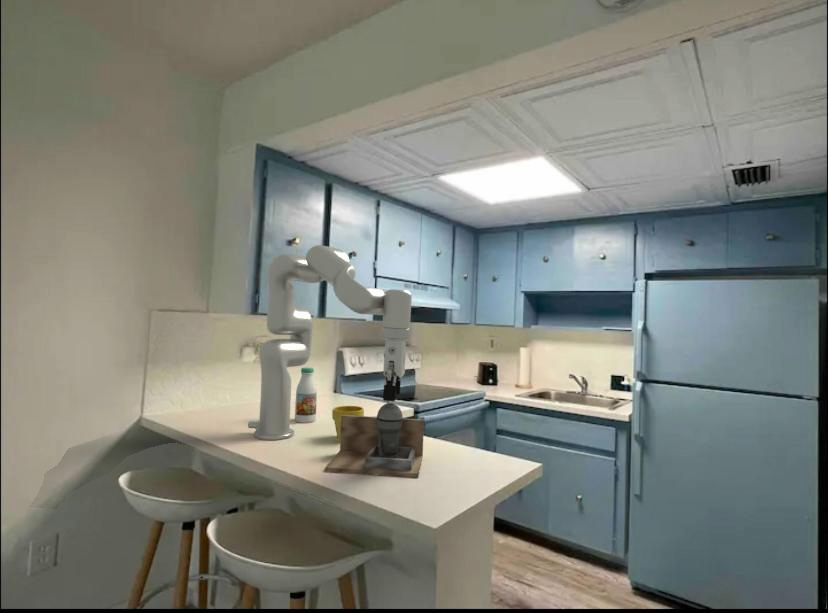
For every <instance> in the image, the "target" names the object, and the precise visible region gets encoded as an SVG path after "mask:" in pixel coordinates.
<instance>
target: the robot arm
mask: <svg viewBox="0 0 828 613" xmlns="http://www.w3.org/2000/svg"><path fill="white" fill-rule="evenodd" d="M355 277H356V269H355V267H354V265H353V264H351V263H350V259H349V256H348V254H347V253H346V252H345V251H343V250H342V249H339V248H335V247H331V246H326V245H321V244H319V245H314V246H311V247H310V248H309V249H308V250H307V253H306V255H305V256H304V255H300V254H295V253H293V254H292V253H281V254H279V255H277V256H274V258H273V259H272V260H271V262H270V264H269V266H268V268H267V284H268V298H267V299H268V302H267V312H266V313H267V314H266V327H267V330H268V332H269V333H271V334H273V335H277V336H278V335H279V336H290V338H273V339H269V340H266V341H265V342H264V343H262V345H261V346H260V348H259V352H258V358H259V362H260V363H259V364H260V371H261V372H260V374H261V378H260V380H261V381H260V382H261V383H260V403H259V404H260V406H259V420H258V421H253V420H250V421H248V423H247V426H248V429H255V431H254V432H253V437H254V438H255V439H258V440H263V441H264V440H265V441H266V440H267V441H276V440H284V439H288V438H291V437H293V436H294V434H295V431H294V429H292V428H291V427H290V422H291V421H290V420H291V419H290V418H291V401H292V400H291V398H292V396H291V395H292V379H291V375H290V372H289V371H288V369H287V368H291V367H294V368H295V367H301V366H304V365H305V364H306V363H307V362H308V361H309V359H310V357H311V351H312V341H313V340H312V338H313V328H314V326H313V324H314V323H313V322H314V321H313V318H312V315H311V313H310V312H309V310H307V309H306V308H304V307H300V306H299V307H298V306H297V307H296V304H295V303H296V290H295V289H294V286H293V284H292V282H291V281H293V282H300V283H309V284H317V283H321V282H324V281H326V283H328V284H330V285H331V286H332V287H333V293H334V294H335V296H336V298H337V299H338V301H340V303H341V304H342V305H345V307H347V308H348V309H349V310H351V311H352V312H354V313H356V314H359V315H371V316H372V315H373V316H382V328H381V329H382V330H381V340H384V341H385V342H384V344H385V345H384V353H383V354H384V358H383V376H384V384H383V394H382V400H383V401H386V402H387V401H389V402H395V401H396V396H397V395H400V394H401V381H402V380H401V378H402V377H403V376H404V375H405V373H406V352H407V351H406V347H407V346H406V342H409V341H410V333H411V332H410V330H411V317H412V316H411V314H412V312H411V311H412V293H411V291H409V290H405V289H392V288H391V289H384V288H376V287H369V286H364V285H362V284H360V283H359V282H358V281H356V280H355Z"/></svg>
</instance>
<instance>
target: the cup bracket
mask: <svg viewBox="0 0 828 613" xmlns="http://www.w3.org/2000/svg"><path fill="white" fill-rule="evenodd" d="M376 418H377V416H365V415H364V416H350V415H342V416H341V439H340V440H339V441H340V442H339V444H340V446H339V451H338V452H337V453H336V454H335V456H334V457H333V458H332V459H331V460H330V461H329V462H328V463H327V464H326V466H325V467H324V472H328V471H332V472H331V473H342V472H348V473H347V474H357V473H358V474H359V473H362V474H361V475H372V474H378V475H377V476H386V475H391V476H390V477H401V476H404V478H416V477H418V478H419V476H420V472H419V471H421V466H422V463H423V459H422V458H424V457H423V455H424V454H423V453H424V431H425V430H424V428H425V425H424V424H425V419H418V418H416V419H415V418H404V417H403V420H402V425H401V429H400V436H399V444H398V452H397V458H382V457H379V441H378V425H377V419H376ZM421 462H422V463H421ZM333 471H334V472H333ZM358 474H357V475H358ZM359 475H360V474H359Z"/></svg>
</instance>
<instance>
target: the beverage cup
mask: <svg viewBox="0 0 828 613" xmlns="http://www.w3.org/2000/svg"><path fill="white" fill-rule="evenodd" d="M376 417H377V418H376V419H377V425H378V441H379V457H382V458H397V452H398V444H399V436H400V429H401V425H402V420H403V418H404V417H403V412H402V409H401V408H400V407H399V406H398V405H397V404H396V403H392V402H391V403H390V401H386V403H385V404H383V405H382V406H381V407H380V408H379V410H378V411H377V414H376Z"/></svg>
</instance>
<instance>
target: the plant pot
mask: <svg viewBox="0 0 828 613" xmlns="http://www.w3.org/2000/svg"><path fill="white" fill-rule="evenodd" d="M331 410H332V411H331V412H332V414H331V416H332V420H334V421H333V422H334V427H335V432H336V438H337V440H339V441H340V439H341V416H342V415H350V416H365V409H364V407H362V406H359V405H358V406H357V405H339V406H335V407H333V408H332V409H331Z"/></svg>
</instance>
